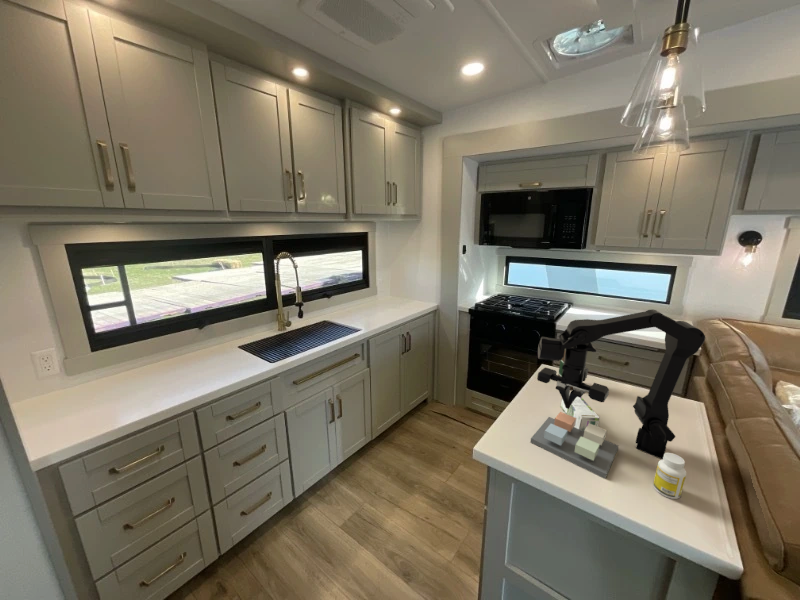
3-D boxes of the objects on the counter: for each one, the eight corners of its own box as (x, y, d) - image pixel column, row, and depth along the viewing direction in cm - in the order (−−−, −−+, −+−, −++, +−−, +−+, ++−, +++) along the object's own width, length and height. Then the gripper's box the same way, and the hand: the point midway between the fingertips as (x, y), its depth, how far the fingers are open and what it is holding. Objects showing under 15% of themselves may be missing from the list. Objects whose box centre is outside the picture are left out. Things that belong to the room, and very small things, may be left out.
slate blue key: (566, 437, 95) (567, 430, 95) (560, 445, 92) (562, 438, 91) (549, 430, 99) (550, 423, 98) (543, 437, 95) (544, 430, 95)
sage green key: (598, 451, 90) (599, 444, 89) (593, 460, 86) (595, 453, 86) (579, 443, 93) (580, 436, 92) (574, 451, 90) (575, 444, 89)
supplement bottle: (667, 481, 83) (675, 450, 81) (686, 499, 78) (695, 466, 76) (647, 482, 83) (655, 450, 81) (664, 500, 78) (673, 466, 76)
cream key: (605, 437, 96) (606, 430, 95) (601, 445, 92) (602, 438, 92) (587, 430, 99) (589, 423, 98) (583, 437, 95) (584, 430, 95)
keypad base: (617, 449, 95) (618, 445, 94) (605, 478, 84) (606, 474, 84) (548, 420, 108) (549, 416, 108) (530, 442, 98) (530, 438, 97)
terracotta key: (575, 424, 101) (576, 418, 101) (570, 432, 98) (571, 425, 97) (559, 418, 104) (560, 411, 104) (553, 425, 101) (555, 418, 100)
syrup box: (575, 407, 116) (598, 433, 102) (559, 406, 116) (579, 432, 102) (578, 393, 114) (601, 417, 100) (561, 392, 115) (582, 417, 101)
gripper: (617, 363, 95) (608, 409, 99) (552, 346, 107) (546, 387, 111) (608, 376, 87) (599, 425, 91) (539, 356, 100) (533, 400, 104)
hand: (567, 407), depth 100 cm, fingers closed
